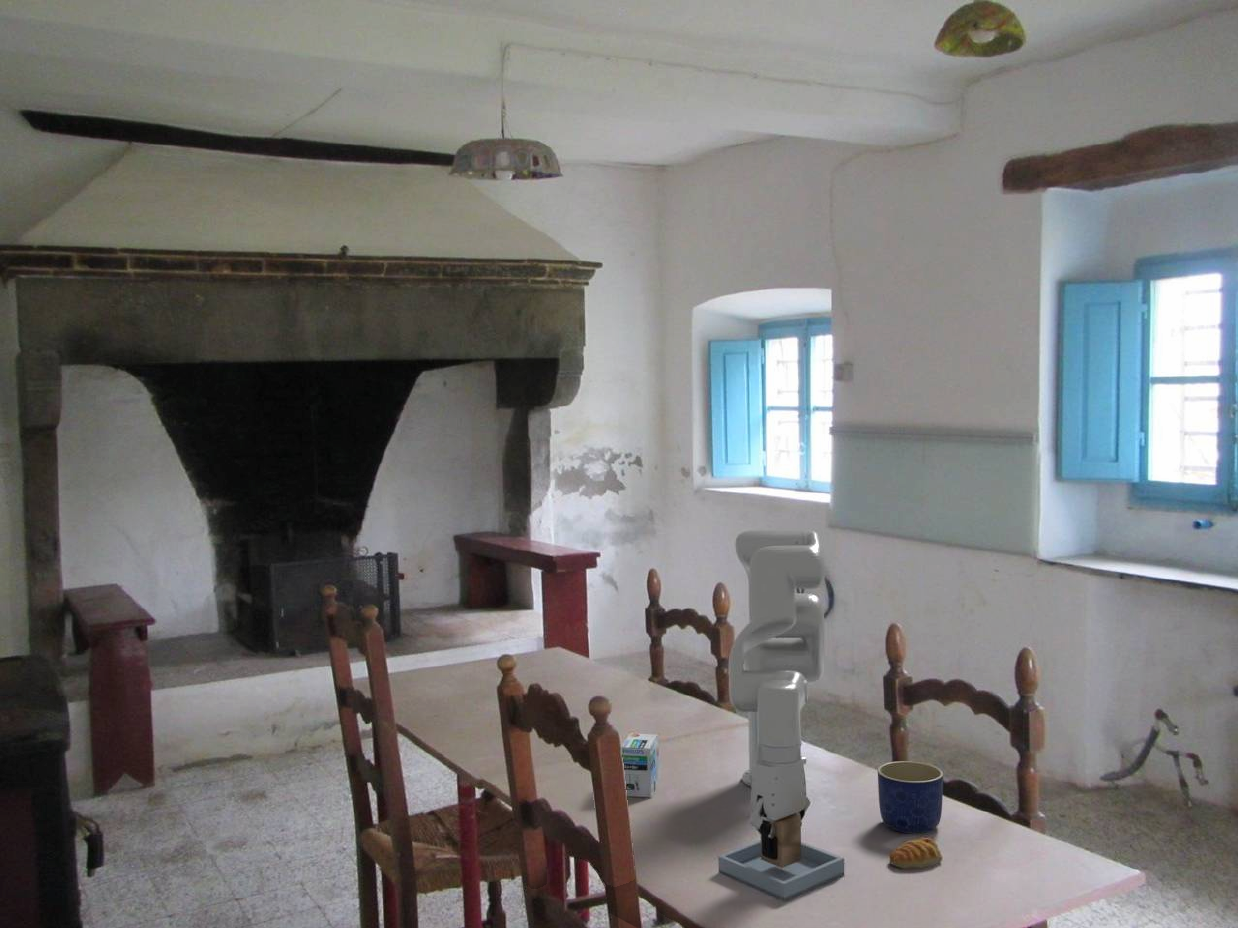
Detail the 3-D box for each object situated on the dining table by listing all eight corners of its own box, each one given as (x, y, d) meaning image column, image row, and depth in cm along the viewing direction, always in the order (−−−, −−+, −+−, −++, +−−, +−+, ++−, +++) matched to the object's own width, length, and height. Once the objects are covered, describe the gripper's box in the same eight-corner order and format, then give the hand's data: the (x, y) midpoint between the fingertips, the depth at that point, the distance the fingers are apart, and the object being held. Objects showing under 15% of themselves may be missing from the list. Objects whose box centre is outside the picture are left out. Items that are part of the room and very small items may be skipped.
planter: (868, 830, 216) (867, 774, 215) (891, 809, 226) (890, 757, 226) (931, 843, 209) (930, 786, 208) (952, 821, 219) (951, 767, 219)
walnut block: (780, 851, 200) (779, 806, 200) (801, 859, 196) (800, 814, 196) (760, 859, 197) (760, 813, 197) (782, 867, 193) (781, 821, 193)
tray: (778, 848, 208) (778, 832, 208) (844, 874, 196) (844, 858, 196) (718, 872, 198) (718, 855, 198) (784, 901, 186) (783, 883, 186)
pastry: (906, 875, 196) (905, 854, 195) (880, 862, 202) (879, 841, 201) (945, 864, 200) (945, 843, 200) (919, 851, 206) (918, 831, 206)
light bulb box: (652, 798, 236) (650, 748, 235) (620, 796, 237) (619, 747, 237) (660, 781, 247) (659, 733, 246) (630, 779, 248) (629, 732, 247)
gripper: (795, 737, 204) (797, 834, 205) (729, 757, 193) (731, 859, 194) (827, 746, 198) (828, 846, 199) (761, 767, 188) (763, 873, 189)
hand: (780, 851), depth 197 cm, fingers closed on walnut block, 5 cm apart
